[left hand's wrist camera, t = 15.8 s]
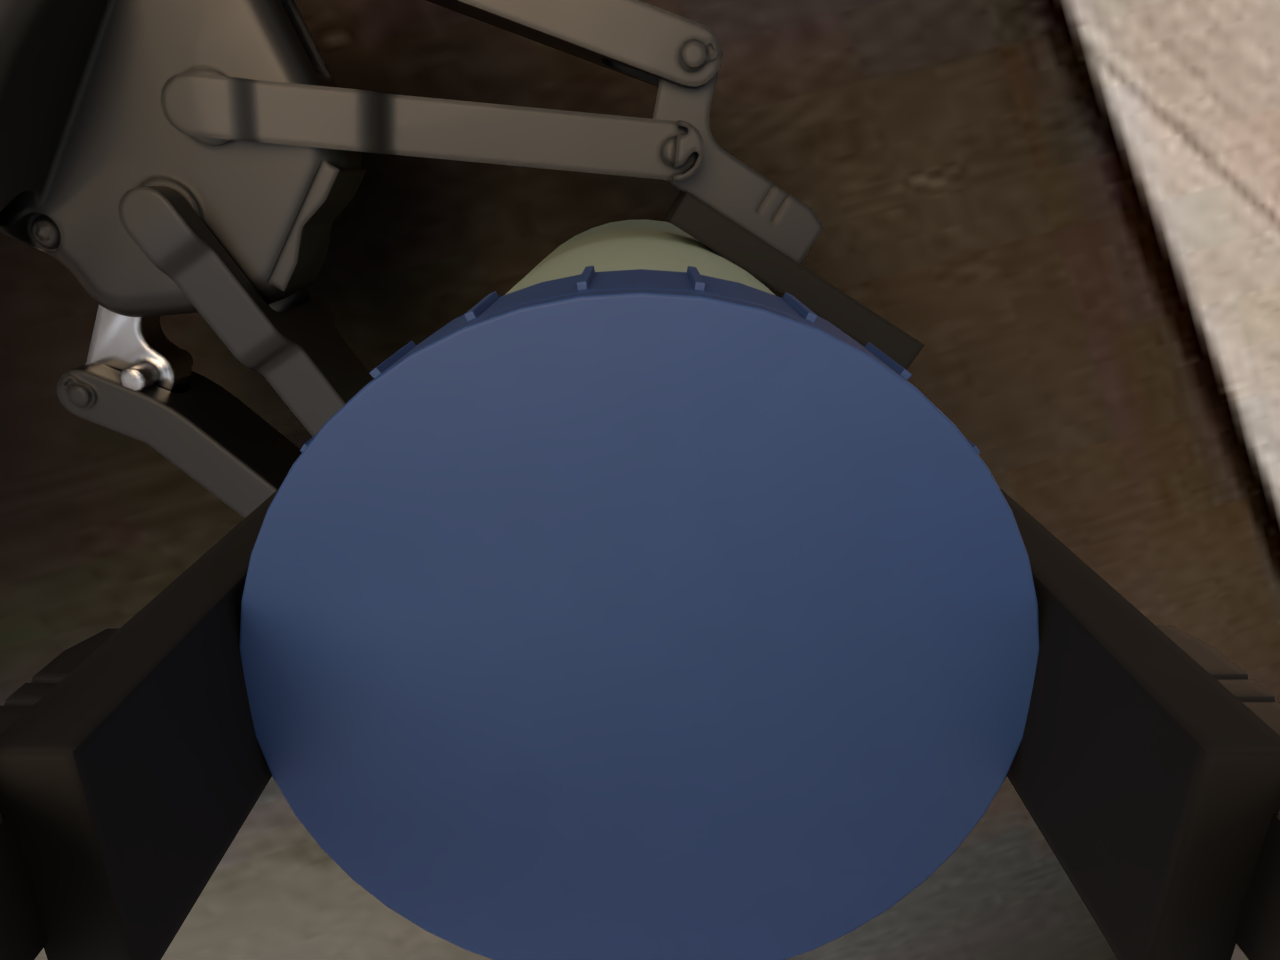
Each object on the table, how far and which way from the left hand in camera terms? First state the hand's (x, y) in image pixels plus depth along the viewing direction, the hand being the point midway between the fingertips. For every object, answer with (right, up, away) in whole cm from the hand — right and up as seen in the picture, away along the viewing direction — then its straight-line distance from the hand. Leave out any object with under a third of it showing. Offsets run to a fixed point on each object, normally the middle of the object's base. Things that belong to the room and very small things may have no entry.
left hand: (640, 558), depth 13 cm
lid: (0, -1, -3) cm, 3 cm away
